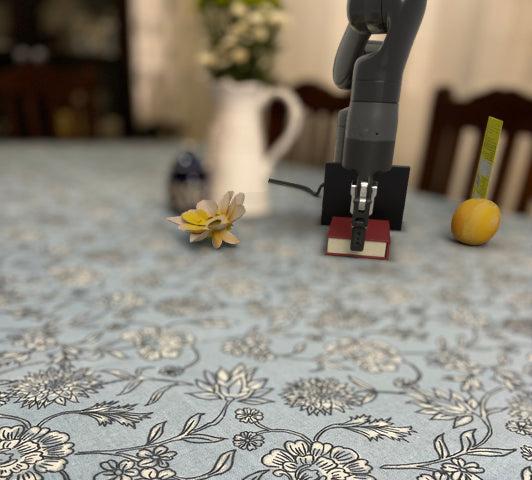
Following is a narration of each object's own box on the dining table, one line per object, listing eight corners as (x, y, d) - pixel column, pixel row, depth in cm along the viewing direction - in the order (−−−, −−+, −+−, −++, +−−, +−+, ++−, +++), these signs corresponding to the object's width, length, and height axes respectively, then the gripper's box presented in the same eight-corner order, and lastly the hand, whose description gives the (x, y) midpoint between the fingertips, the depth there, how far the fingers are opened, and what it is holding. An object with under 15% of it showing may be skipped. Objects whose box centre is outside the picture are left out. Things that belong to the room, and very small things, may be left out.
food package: (481, 226, 107) (505, 121, 98) (476, 226, 108) (499, 121, 98) (471, 210, 121) (491, 116, 111) (466, 210, 121) (486, 116, 111)
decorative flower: (159, 222, 96) (170, 167, 92) (216, 231, 101) (228, 180, 97) (179, 251, 85) (192, 190, 80) (242, 260, 90) (257, 203, 85)
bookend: (400, 230, 103) (410, 167, 97) (320, 224, 105) (325, 162, 99) (399, 222, 109) (408, 162, 103) (323, 216, 111) (328, 157, 105)
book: (387, 259, 86) (390, 240, 85) (325, 254, 88) (326, 235, 86) (386, 237, 98) (389, 220, 97) (331, 233, 100) (333, 216, 98)
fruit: (488, 252, 91) (499, 207, 88) (442, 244, 95) (451, 200, 91) (498, 241, 98) (508, 198, 94) (455, 234, 102) (463, 192, 98)
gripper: (397, 141, 71) (380, 263, 78) (394, 134, 82) (379, 241, 90) (342, 138, 72) (330, 259, 80) (347, 131, 83) (336, 238, 91)
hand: (356, 249), depth 85 cm, fingers closed
